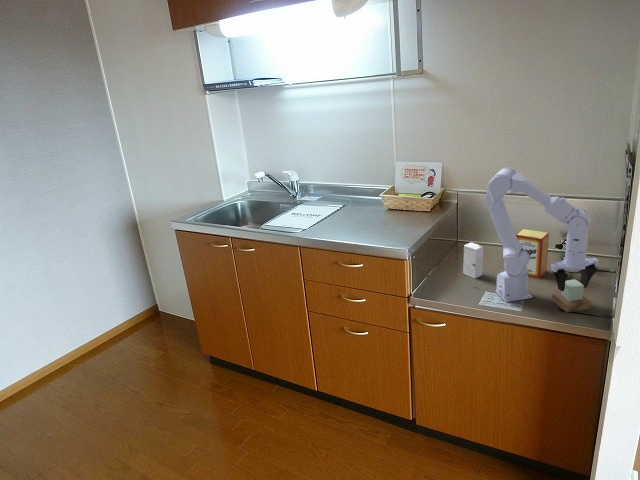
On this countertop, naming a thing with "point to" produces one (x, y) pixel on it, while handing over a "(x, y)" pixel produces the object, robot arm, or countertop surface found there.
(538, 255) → the baking soda box
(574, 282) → the sage block
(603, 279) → the countertop surface
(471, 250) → the skincare box
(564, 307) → the walnut block
